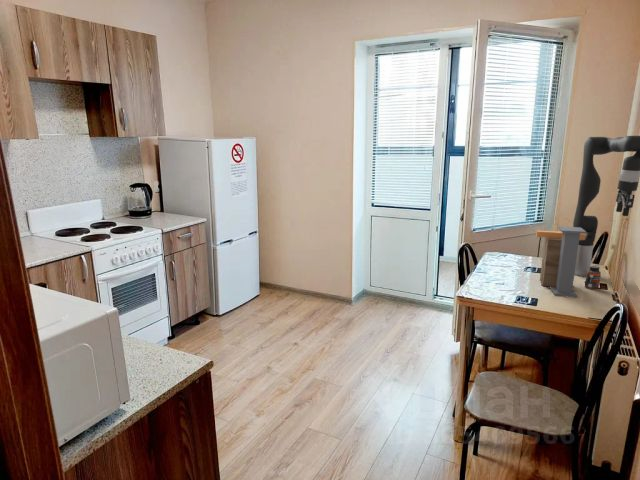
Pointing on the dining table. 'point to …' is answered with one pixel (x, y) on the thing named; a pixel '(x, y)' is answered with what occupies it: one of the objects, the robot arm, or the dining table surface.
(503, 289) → the dining table surface
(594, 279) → the supplement bottle
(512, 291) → the dining table surface
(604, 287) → the dining table surface
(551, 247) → the tan upright box
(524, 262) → the dining table surface
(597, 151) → the robot arm
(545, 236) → the block
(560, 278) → the tall stand
